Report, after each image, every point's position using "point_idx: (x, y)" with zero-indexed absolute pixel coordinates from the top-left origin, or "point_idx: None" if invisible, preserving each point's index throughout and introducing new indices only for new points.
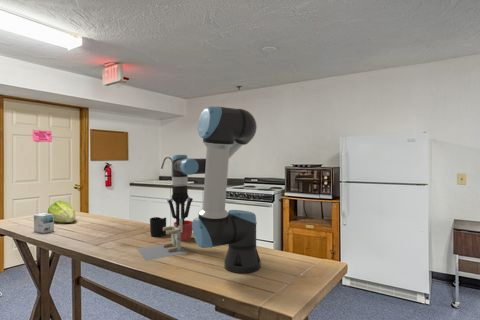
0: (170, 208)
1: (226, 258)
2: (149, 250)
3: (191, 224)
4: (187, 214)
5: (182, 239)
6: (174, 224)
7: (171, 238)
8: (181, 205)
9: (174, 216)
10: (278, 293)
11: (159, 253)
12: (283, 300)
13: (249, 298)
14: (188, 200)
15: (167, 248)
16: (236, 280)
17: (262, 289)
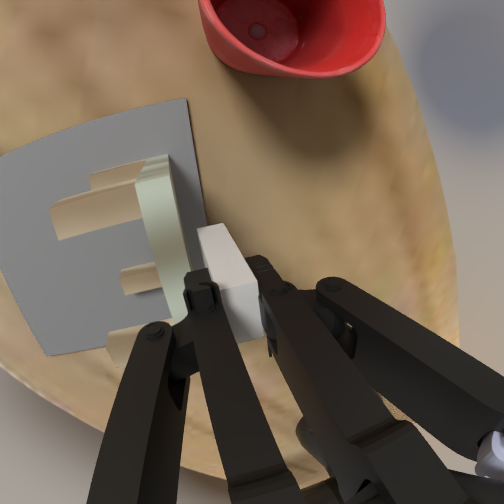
0: (107, 462)
1: (309, 446)
2: (27, 228)
3: (357, 67)
4: (348, 345)
5: (239, 70)
6: (199, 1)
7: (144, 165)
8: (341, 463)
9: (170, 390)
10: (319, 473)
11: (84, 292)
12: (312, 481)
13: None
14: (483, 465)
15: (119, 278)
16: (289, 459)
17: (308, 470)
